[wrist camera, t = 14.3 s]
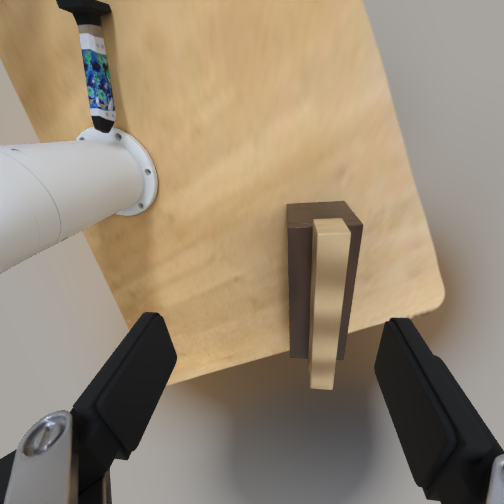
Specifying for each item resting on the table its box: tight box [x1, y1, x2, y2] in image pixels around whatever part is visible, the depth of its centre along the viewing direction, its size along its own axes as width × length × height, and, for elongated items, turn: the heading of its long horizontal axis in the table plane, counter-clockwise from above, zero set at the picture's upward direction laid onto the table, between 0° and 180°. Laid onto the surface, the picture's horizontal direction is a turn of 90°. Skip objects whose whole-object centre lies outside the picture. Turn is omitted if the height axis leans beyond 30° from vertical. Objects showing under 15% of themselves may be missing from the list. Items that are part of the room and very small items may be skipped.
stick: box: [308, 218, 351, 390], centre depth 29 cm, size 24×3×4 cm, turn 5°
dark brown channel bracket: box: [287, 201, 363, 360], centre depth 34 cm, size 8×22×9 cm, turn 5°
